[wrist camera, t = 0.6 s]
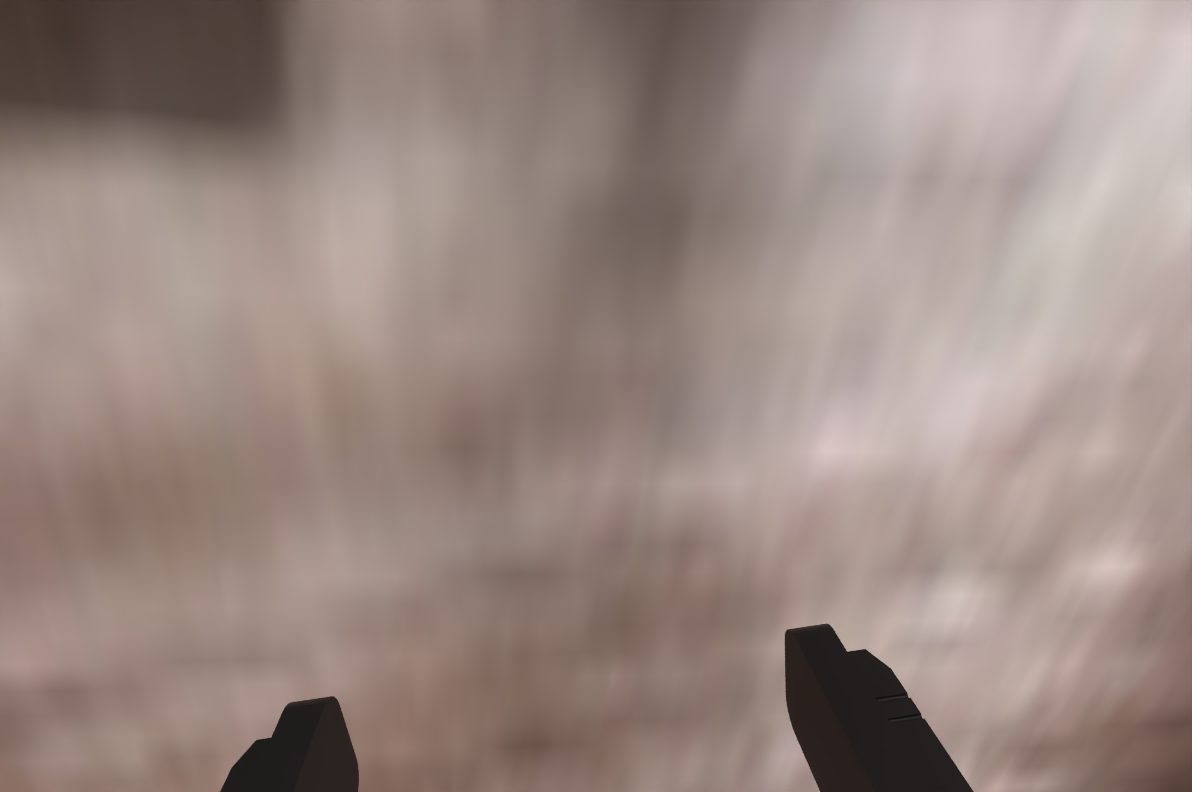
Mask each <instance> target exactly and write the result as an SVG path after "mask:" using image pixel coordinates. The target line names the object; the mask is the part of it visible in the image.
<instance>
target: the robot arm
mask: <svg viewBox="0 0 1192 792" xmlns="http://www.w3.org/2000/svg"><path fill="white" fill-rule="evenodd" d="M785 677H786V701H787V708H788V712H789V717H790V720H791V724H792V727H793V730H794V732H795V735H796V737H797V740H798V742H799V744H800V746H801V749H802V751H803V753H804V756H805V758H806V760H807V762H808V765H809V767H810V769H811V772H812V774H813V776H814V778H815V781H816V783H817V785H818V788H819V790H820V792H973V790H972V789H971V787H970V786H969V784H968V783H967V781H966V780H965V778H964V777H963V775H962V774H961V772H960V771H959V769H958V768H957V766H956V765H955V763H954V762H953V760H952V759H951V758H950V756H949V755H948V753H947V752H946V750H945V749H944V747H943V746H942V744H941V743H940V741H939V740H938V738H937V737H936V735H935V734H934V732H933V731H932V729H931V728H930V726H929V725H928V723H927V722H926V720H925V719H922V717H921V713H920V711H919V710H918V708H917V707H916V705H915V704H914V702H913V701H912V699H911V698H908V695H907V692H906V690H905V689H904V687H903V686H902V684H901V683H900V681H899V680H898V679H897V677H896V676H895V674H894V673H893V671H892V670H891V668H889V667H888V666H887V665H885V664H884V663H883V662H881V661H880V660H879V659H877V658H876V657H875V656H873V655H872V654H871V653H870V652H868V651H867V650H866V649H863V650H857V651H850V652H847V651H846V649H845V648H844V646H843V644H842V643H841V641H840V639H839V638H838V636H837V634H836V633H835V631H834V630H833V628H832V627H831V626H830V625H829V624H821V625H814V626H808V627H801V628H794V629H788V630H786V633H785ZM358 786H359V771H358V763H357V759H356V755H355V752H354V749H353V746H352V743H351V739H350V736H349V733H348V730H347V727H346V724H345V721H344V717H343V714H342V711H341V708H340V705H339V702H338V700H337V699H336V698H335V697H333V696H331V697H324V698H318V699H311V700H304V701H298V702H291V703H289V704H288V705H286V707H285V708H284V710H283V712H282V714H281V717H280V719H279V721H278V724H277V726H276V728H275V731H274V733H273V735H272V737H271V738H266V739H260V740H256V741H255V742H254V743H253V744H252V746H251V747H250V748H249V749H248V750H247V751H246V752H245V753H244V755H243V756H242V757H241V758H240V759H239V760H238V761H237V762H236V764H235V765H234V766H233V767H232V768H231V770H230V772H229V775H228V777H227V779H226V781H225V783H224V785H223V787H222V789H221V791H220V792H358Z"/></svg>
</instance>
